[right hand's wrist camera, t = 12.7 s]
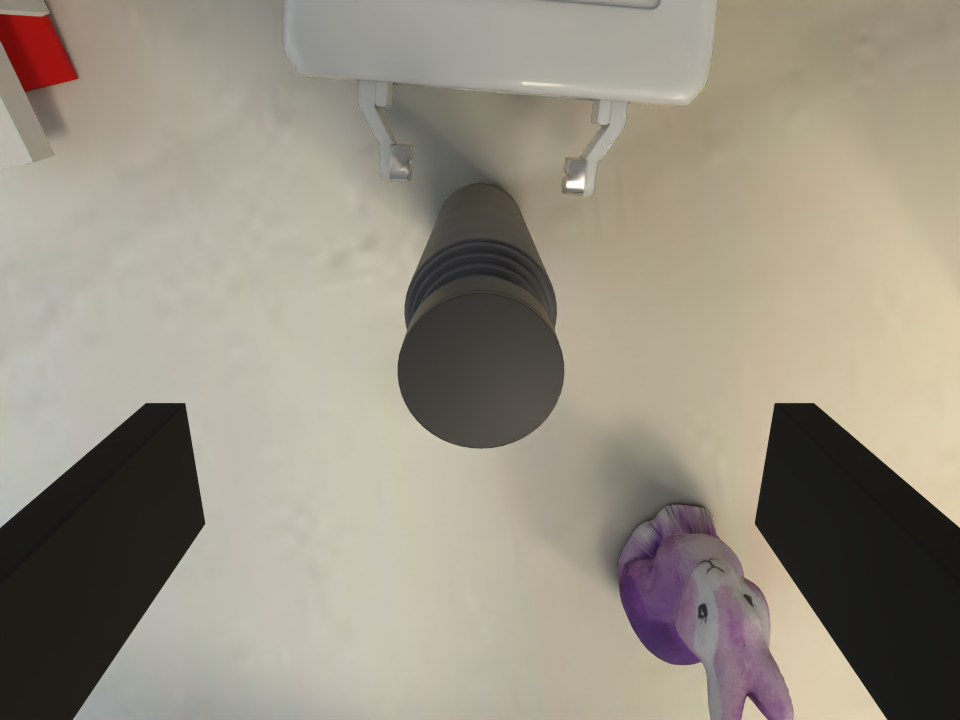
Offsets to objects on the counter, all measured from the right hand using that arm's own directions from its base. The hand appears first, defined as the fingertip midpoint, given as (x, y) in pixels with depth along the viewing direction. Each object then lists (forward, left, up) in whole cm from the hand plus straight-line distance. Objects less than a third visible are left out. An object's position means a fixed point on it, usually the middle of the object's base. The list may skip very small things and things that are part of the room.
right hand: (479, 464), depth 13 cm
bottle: (0, 0, -30) cm, 30 cm away
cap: (0, 0, -5) cm, 5 cm away
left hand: (+2, -3, -24) cm, 24 cm away
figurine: (-26, +10, -30) cm, 41 cm away
